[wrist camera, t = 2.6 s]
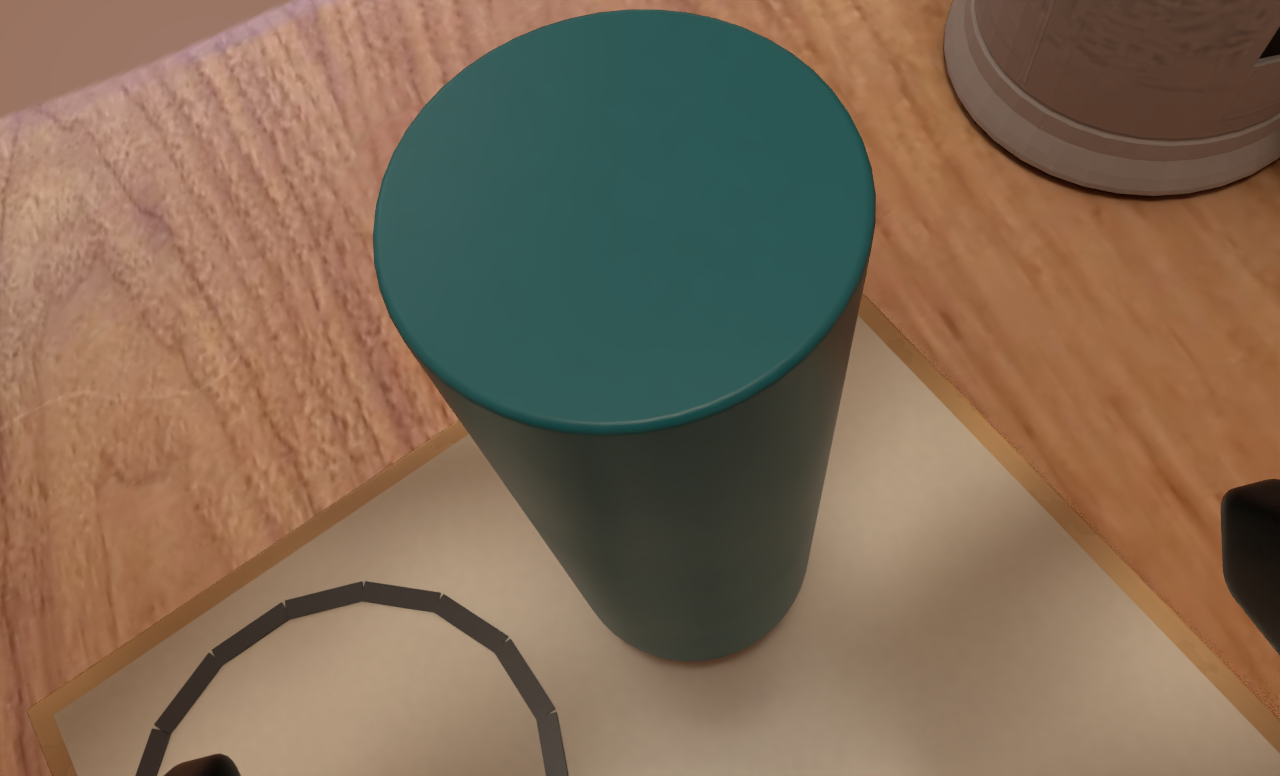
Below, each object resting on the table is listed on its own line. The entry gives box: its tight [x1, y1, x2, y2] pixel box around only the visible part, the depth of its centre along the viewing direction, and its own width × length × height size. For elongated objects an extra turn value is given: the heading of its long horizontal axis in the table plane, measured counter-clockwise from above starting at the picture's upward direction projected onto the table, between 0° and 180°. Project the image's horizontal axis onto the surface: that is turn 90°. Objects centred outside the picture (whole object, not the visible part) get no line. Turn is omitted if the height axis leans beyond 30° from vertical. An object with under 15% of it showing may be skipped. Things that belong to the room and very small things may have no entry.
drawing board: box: [27, 293, 1280, 776], centre depth 18 cm, size 16×19×1 cm
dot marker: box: [373, 10, 876, 661], centre depth 14 cm, size 4×4×12 cm
